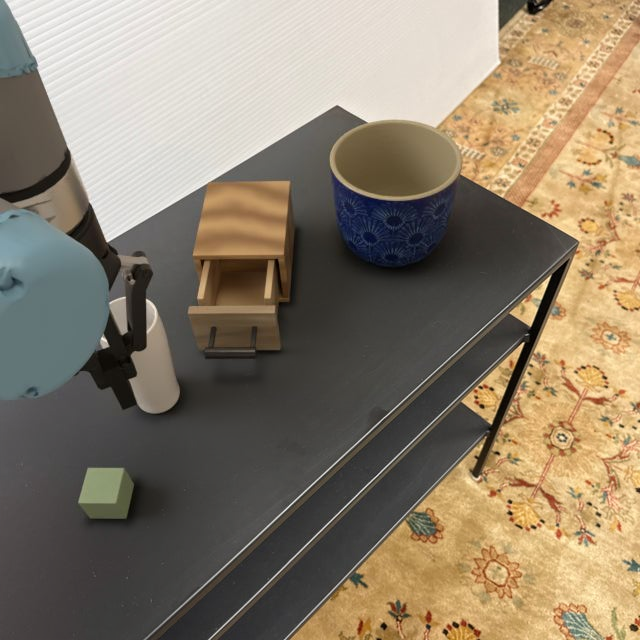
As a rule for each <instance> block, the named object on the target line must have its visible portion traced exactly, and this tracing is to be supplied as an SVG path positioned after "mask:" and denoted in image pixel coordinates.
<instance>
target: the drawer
mask: <svg viewBox="0 0 640 640" xmlns="http://www.w3.org/2000/svg"><path fill="white" fill-rule="evenodd" d="M280 281H281V277H280V269H279V261H278V259H205V261H204V266H203V271H202V276H201V281H199V287H198V292H197V297H196V300H197V303H198V305H189V306H188V310H187V316H188V319H189V322H190V325H191V329H192V332H193V335H194V338H195V341H196V345H197V348H198V351H204V353H203V354H204V355H203V356H204V358H205V359H206V360H255V359H257V357H258V351H281V346H282V342H281V334H280V327H279V321H278V319H279V318H278V315H279V303H280V302H279V292H280Z"/></svg>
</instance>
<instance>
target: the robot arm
mask: <svg viewBox="0 0 640 640" xmlns="http://www.w3.org/2000/svg"><path fill="white" fill-rule="evenodd" d="M38 67H39V64H38V61H37V58H36V56H35V55H33V52H32V50H31V49H30V46H29V44H28V42H27V40H26V38H25V36H24V34H23V31H22V29H21V27H20V25H19V23H18V21H17V20H16V17H15V16H14V14H13V12H12V10H11V8H10V6H9V5H8V3H7V2H6V0H0V401H2V402H12V401H19V400H24V399H32V400H33V399H38V398H40V397H43V396H45V395H47V394H49V393H52V392H54V391H55V390H57V389H59V388H60V387H62V386H63V385H65V384H66V383H67V382H68V381H70V380H71V379H72V378H75V377H77V375H79V373H80V372H88V373H89V374H90V377H91V378H92V379H93V381H94V383H95V385H96V387H97V389H99V390H101V391H103V390H106V389H108V388H111V390H112V392H113V394H114V396H115V398H116V400H117V402H118V403H119V405H120V408H121V410H122V411H125V410H127V409H131V408H132V407H135V406H138V404H137V401H136V398H135V395H134V392H133V389H132V386H131V384H130V381H129V379H131V378H134V377H137V371H136V368H135V365H134V362H133V360H132V358H131V354H132V353H133V352H134V351H137V352H140V351H143V350H145V349H146V347H147V320H146V299H147V290H148V287H149V285H150V284H151V283H150V282H151V281H152V279H153V276H154V272H153V270H152V269H153V268H152V267H151V264H150V261H149V259H148V257H147V254H146V253H145V251H142V250H136V251H134V252H133V253H132V254H131V255H124V254H119V252H118V250H117V249H116V248H115V247H114V246H112V245H111V244H110V243H108V241H107V239H106V237H105V234H104V232H103V230H102V227H101V223H100V222H99V220H98V217H97V215H96V212H95V210H94V207H93V205H92V204H91V202H90V200H89V199H90V198H89V194H88V192H87V190H86V187H85V185H84V182H83V179H82V177H81V174H80V172H79V169H78V167H77V165H76V162H75V160H74V157H73V154H72V151H71V150H70V149H69V147H68V144H67V141H66V139H65V136H64V133H63V130H62V128H61V125H60V123H59V120H58V118H57V115H56V113H55V110H54V107H53V104H52V103H51V100H50V98H49V95H48V91H47V89H46V87H45V85H44V82H43V79H42V77H41V74H40V72H39V69H38ZM119 273H120V275H121V277H122V280H123V281H124V291H125V297H126V317H127V331H128V332H127V333H125V334H123V335H122V334H121V332H120V330H119V327H118V325H117V323H116V321H115V319H114V316H113V314H112V312H111V310H110V304H109V303H110V297H111V293H110V292H111V290H112V288H113V286H114V284H115V281H116V279H117V277H118V275H119ZM103 334H104V336H105V338H106V340H107V342H108V344H109V347H107V348H104V349H103V348H101V349H99V350H97V348H98V346H99V344H100V340H101V338H102V335H103Z"/></svg>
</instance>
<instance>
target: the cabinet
mask: <svg viewBox="0 0 640 640" xmlns="http://www.w3.org/2000/svg"><path fill="white" fill-rule="evenodd" d="M291 185H292V184H291V181H290V180H265V181H264V180H261V181H260V180H259V181H258V180H257V181H256V180H255V181H209V182H207V186H206V191H205V196H204V201H203V205H202V209H201V214H200V220H199V223H198V227H197V228H198V229H197V233H196V238H195V242H194V247H193V251H192V258H193V262H194V267H195V270H196V274H197V277H198V280H199V282H200V281H201V276H202V271H203V266H204V261H205V259H278V261H279V269H280V277H281V281H280V292H279V303H290V300H291V287H292V286H291V284H292V272H293V260H294V259H293V258H294V244H295V234H296V233H295V232H296V230H295V229H296V227H295V226H296V225H295V217H294V216H295V215H294V207H293V206H294V205H293V195H292V186H291Z"/></svg>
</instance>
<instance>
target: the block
mask: <svg viewBox="0 0 640 640" xmlns="http://www.w3.org/2000/svg"><path fill="white" fill-rule="evenodd" d="M134 487H135V484H134V482H133V480H132V478H131V477H130V475H129V473H128V471H127V470H126V468H125V467H87V470H86V472H85V477H84V480H83V484H82V487H81V491H80V494H79V498H78V505H79V506H80V507H81V509H82V510H83V512H84V513H85V514H86V516H87V517H88V518H89V519H102V520H103V519H105V520H106V519H108V520H109V519H111V520H112V519H114V520H119V519H120V520H127V519H128V514H129V509H130V504H131V501H132V495H133V491H134Z"/></svg>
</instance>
